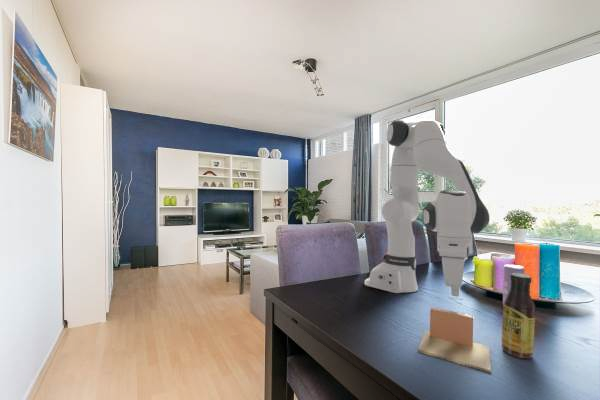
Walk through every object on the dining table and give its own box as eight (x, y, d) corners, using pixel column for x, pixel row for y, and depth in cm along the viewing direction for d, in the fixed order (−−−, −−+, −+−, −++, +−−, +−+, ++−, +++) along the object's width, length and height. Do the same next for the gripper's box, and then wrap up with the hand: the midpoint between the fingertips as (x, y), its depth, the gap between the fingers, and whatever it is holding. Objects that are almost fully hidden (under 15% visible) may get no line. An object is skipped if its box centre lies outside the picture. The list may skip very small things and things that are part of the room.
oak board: (418, 351, 68) (418, 349, 68) (425, 332, 78) (425, 330, 78) (491, 373, 60) (491, 370, 60) (488, 348, 70) (488, 346, 70)
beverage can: (527, 311, 94) (528, 268, 94) (508, 310, 96) (509, 267, 96) (517, 305, 100) (518, 264, 100) (499, 303, 101) (500, 263, 101)
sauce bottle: (495, 346, 71) (496, 270, 71) (517, 346, 72) (518, 270, 72) (517, 361, 65) (518, 278, 65) (541, 360, 65) (543, 277, 65)
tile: (429, 335, 75) (430, 308, 75) (430, 333, 77) (431, 306, 76) (472, 347, 70) (473, 317, 70) (472, 344, 71) (473, 315, 71)
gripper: (445, 241, 88) (445, 284, 88) (438, 250, 71) (439, 303, 71) (467, 242, 85) (468, 287, 85) (466, 252, 68) (468, 308, 67)
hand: (455, 294), depth 78 cm, fingers closed
